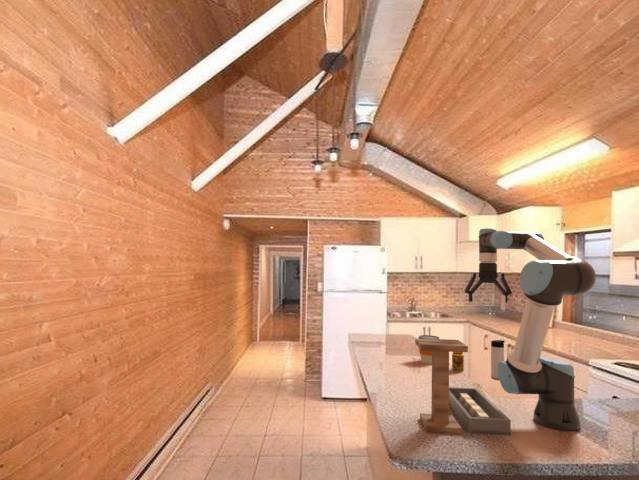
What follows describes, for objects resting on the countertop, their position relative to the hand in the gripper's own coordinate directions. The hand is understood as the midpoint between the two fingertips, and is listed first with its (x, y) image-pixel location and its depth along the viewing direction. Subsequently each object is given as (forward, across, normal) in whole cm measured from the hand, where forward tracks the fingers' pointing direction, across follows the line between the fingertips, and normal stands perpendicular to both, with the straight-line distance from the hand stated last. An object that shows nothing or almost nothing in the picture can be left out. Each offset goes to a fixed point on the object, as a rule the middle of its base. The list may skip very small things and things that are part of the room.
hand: (487, 309), depth 178 cm
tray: (+39, +14, +23) cm, 47 cm away
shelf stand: (+39, +30, +36) cm, 60 cm away
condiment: (+39, +1, -44) cm, 59 cm away
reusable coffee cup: (+39, +13, -60) cm, 73 cm away
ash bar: (+38, +14, +22) cm, 46 cm away
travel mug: (+39, -16, -30) cm, 51 cm away
